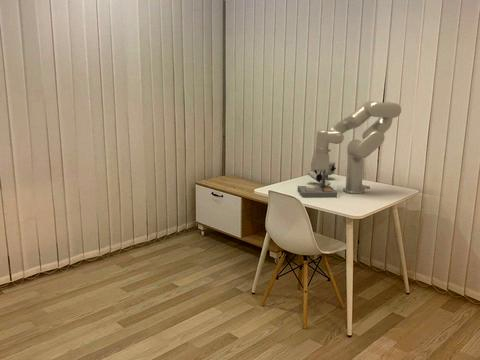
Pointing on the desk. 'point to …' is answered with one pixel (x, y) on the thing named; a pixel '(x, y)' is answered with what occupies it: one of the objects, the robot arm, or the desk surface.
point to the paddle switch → (323, 183)
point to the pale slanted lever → (313, 174)
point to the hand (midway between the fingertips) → (318, 181)
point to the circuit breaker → (331, 170)
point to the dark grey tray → (317, 192)
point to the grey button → (309, 189)
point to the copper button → (326, 189)
